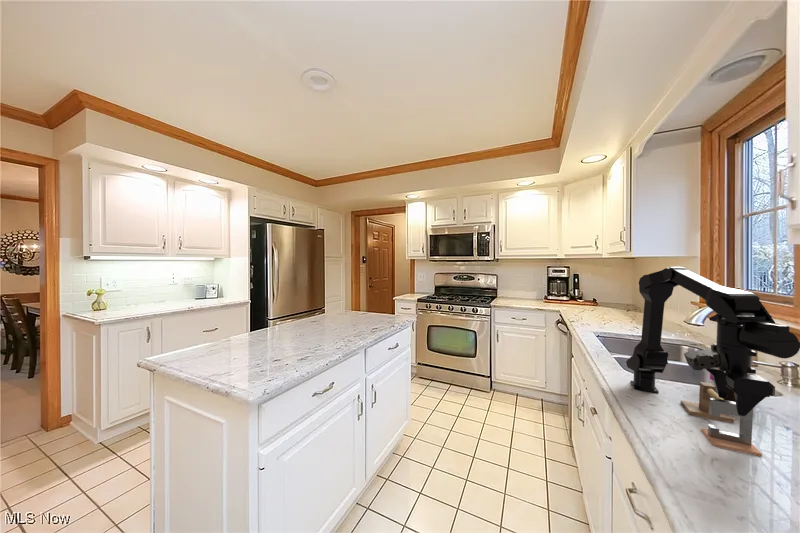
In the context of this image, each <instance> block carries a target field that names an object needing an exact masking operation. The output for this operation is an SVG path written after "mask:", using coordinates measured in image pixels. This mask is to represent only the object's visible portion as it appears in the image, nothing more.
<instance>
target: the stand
mask: <svg viewBox="0 0 800 533" xmlns="http://www.w3.org/2000/svg"><path fill="white" fill-rule="evenodd" d="M698 396H699V397H698V402H693V401H687V400H682V399H680V404H681V406H682V407H683V408H684V409H685V411H686V412H687V413H688V414H689V415H691V416H697V417H701V418H706V419H711V420H712V419H713V420H716V421H723V422H727V423H732V424H734V423H735V418H734V417H733V416H731V415H726V414H720V417H715V416H711V415H710V414H709V398H715V399H721V400H724V399H723V398H720V397H719V396H718V393H717V390H716V387H715V386H714V385H713V384H711V383H710V382H704V381H703V382H702V381H699V395H698Z"/></svg>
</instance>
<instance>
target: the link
mask: <svg viewBox="0 0 800 533" xmlns="http://www.w3.org/2000/svg"><path fill="white" fill-rule="evenodd" d="M709 414H710V415H711V416H715V417H720V414H726V415H730V416H731V417H737V418H739V428H738V429H739V430H738V431H739V433H733V432H729V431H725V430H724V431H723V430H720V428H719V427H718V426H717V425H713V424H708V425H707V429H708V435H709V436H710V437H712V438H717V439H722V440H726V441H731V442H736V443H740V444H745V445H750V446H751V443H752V439H753V423H754V422H753V420H754V418H753V417H754V416H753V415H754V408H753V409H752V410H751V411H750V412H749V413H748V414H747V415H746V416H741V415H738V413H737V408H736V402H733V401H727V400H721V399H715V398H709ZM752 444H753V443H752Z"/></svg>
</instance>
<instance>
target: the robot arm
mask: <svg viewBox="0 0 800 533" xmlns="http://www.w3.org/2000/svg"><path fill="white" fill-rule="evenodd" d="M679 286H680V287H682V288H684V289H685V290H688V292H691V293H693V294H695V295H696V296H699V298H701V299H703V300H704V301H705V304H706V306H707V308H709V309H711V310H712V311H713V312H715V313H716V314H715V315H712V316H710V317H709V318H708V320H709V321H710V322H714V323H716V341H715V342H716V343H714V342H713V343H712V344H711V345H710V349H699V350H694V351H686V352H684V353H683V356H684V358H685V360H686V362H687V365H688V366H689V367H690V368H692V370H693V371H702V370H706V371H707V372H708V373H709V374H710V373H711V375H712V378H713V381H714V384H715V387H716V393H717V394H718V396H719V397H720V398H726V396H727V394H728V393H729V391H730V389H731V390H732V391H733V392H734V395H735V402H736V408H737V413H738V415H741V416H746V415H747V414H748V413H749V412H750V411H751V410H752V409H753V410H754V408H755V407H756V406H758V404H759V403H761V402H762V401H763V400H765V398H770V397H772V396H775V395H776V386H775V385H774V384H772V383H771V382H770V381H768V380H767V379H765V378H764V377H762V376H760V375H757V370H756V369H755V368H754V367H752V361H753V360H752V358H753V357H754V358H755V357H756V358H757V357H758V356H757V354H758V353H757V352H759V353H762V354H765V355H769V356H772V357H776V358H779V359H790V358H792V357H794V356H796V355H797V354H798V353H799V352H800V341H799V338H798V337H797V336H796V335H795V333H792V332H790V326H789V325H785V324H776V322H775V320H774V319H773V318H772V317H773V316H772V315H771V314H770V313H769V311H768V310H767V308H766V307H765V306H764V304H763V303H762V302H761V300H760V297H759V296H758V295H757V294H755V293H753V292H751V291H745V290H742V289H738V288H733V287H727V286H723V285H721V284H719V283H717V282H714V281H712V280H710V279H708V278H706V277H704V276H701V275H699V274H697V273H695V272H693V271H691V270H689V269H688V267H687V268H686V267H683V266H669V267H665V268H663V269H661V270H659V271H655V272H651V273H648V274H643V275H642V276H641V277H640V278H639V280H638V288H639V289H638V291H639V293H640V295H641V297H642V298H643V299H644V300H643V301H644V303H643V304H644V305H643V315H642V317H643V318H642V325H641V326H642V327H641V338H640V341H639V342H638V344H636V346H635V347H634V349H633V354H632V355H631V356H630V357H629V358H627V360H626V361H625V363H626V364H625V365H626V367H627V368H628V369H630V370H632V371H633V380H630V382H629V383H630V384H631V385H632V388H633V389H634V390H637V391H643V392H644V391H645V392H649V393H657V394H659V393H660V392H659V390H658V388H657V386H656V373H657V374H659V373H660V374H664V371H665V368H666V366H667V365H668V364H669V363H668V358H669V353H668V351H665V349H664V347H662V344H661V343H662V334H663V323H664V312H665V303H666V302H667V301H668V299H670V298H671V296H672V295H673V292H674V288H676V287H679ZM747 373H752V374H755V375H748V374H747Z"/></svg>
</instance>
